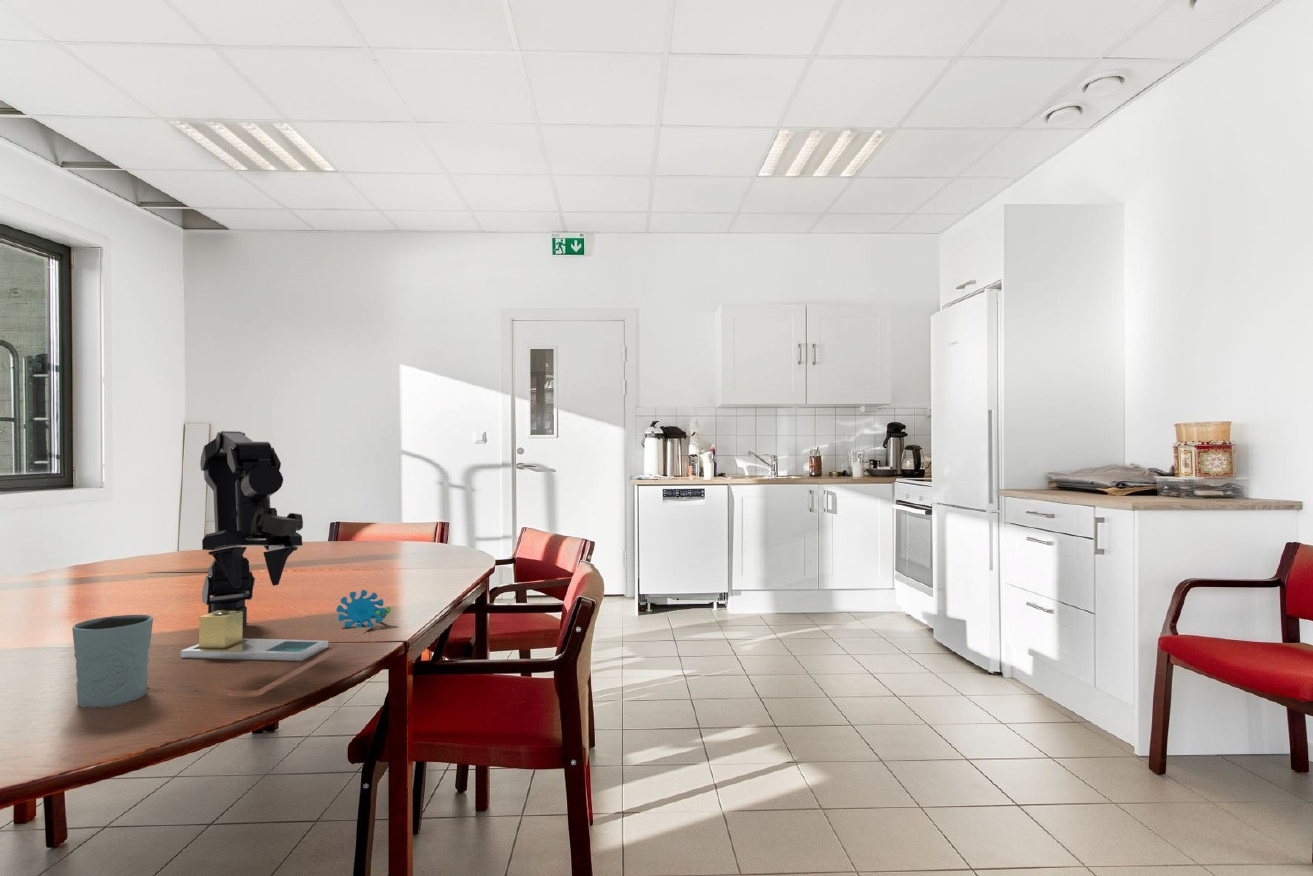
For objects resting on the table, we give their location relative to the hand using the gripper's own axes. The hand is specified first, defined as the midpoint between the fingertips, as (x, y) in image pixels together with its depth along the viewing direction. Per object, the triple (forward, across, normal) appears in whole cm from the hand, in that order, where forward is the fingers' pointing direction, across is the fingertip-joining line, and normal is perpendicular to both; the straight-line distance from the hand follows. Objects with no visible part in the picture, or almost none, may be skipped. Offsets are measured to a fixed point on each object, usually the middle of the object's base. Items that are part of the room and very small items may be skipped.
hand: (257, 586), depth 134 cm
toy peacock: (+11, +26, -3) cm, 28 cm away
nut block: (+11, 0, +9) cm, 14 cm away
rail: (+13, +2, +3) cm, 13 cm away
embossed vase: (+15, -22, +7) cm, 28 cm away
